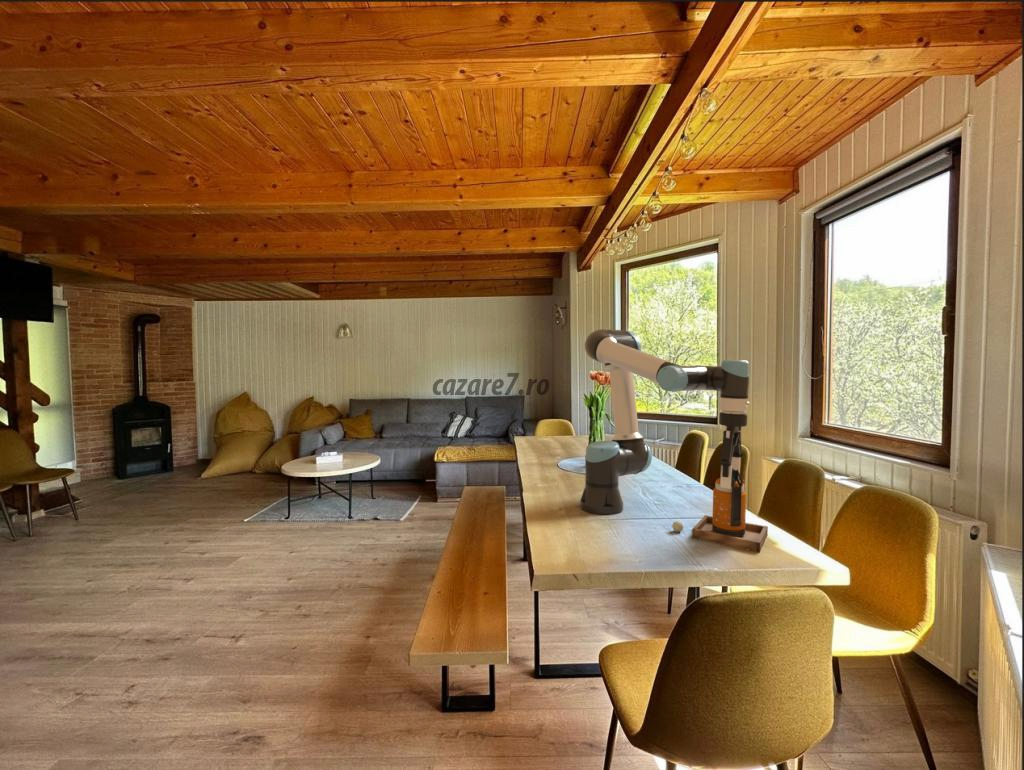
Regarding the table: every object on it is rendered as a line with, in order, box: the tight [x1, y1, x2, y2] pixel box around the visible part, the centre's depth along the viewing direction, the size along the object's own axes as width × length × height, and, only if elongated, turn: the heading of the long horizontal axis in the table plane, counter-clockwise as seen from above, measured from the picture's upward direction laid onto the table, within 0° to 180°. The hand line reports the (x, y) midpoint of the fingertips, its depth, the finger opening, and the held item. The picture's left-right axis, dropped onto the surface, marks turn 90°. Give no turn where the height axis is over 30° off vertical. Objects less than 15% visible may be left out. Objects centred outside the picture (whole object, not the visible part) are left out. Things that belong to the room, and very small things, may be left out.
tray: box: [691, 514, 769, 553], centre depth 141 cm, size 18×16×3 cm
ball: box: [671, 520, 684, 533], centre depth 145 cm, size 3×3×3 cm
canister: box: [712, 468, 747, 537], centre depth 140 cm, size 9×11×20 cm
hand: (730, 482), depth 141 cm, fingers open, 13 cm apart
